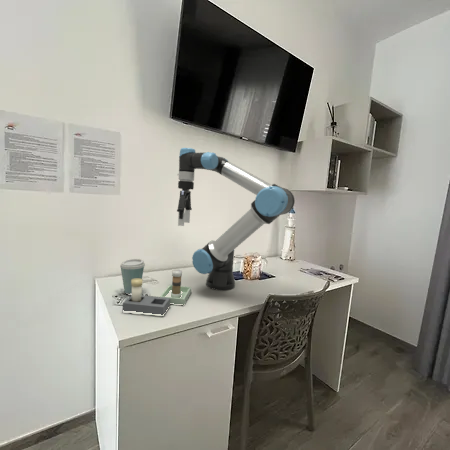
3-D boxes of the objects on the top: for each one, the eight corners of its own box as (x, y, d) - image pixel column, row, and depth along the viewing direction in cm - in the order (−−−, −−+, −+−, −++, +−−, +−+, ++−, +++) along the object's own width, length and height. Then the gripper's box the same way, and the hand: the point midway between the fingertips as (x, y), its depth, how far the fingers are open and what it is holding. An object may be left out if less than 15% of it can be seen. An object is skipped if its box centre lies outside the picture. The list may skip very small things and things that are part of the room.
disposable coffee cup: (129, 299, 113) (130, 265, 111) (114, 293, 119) (114, 260, 117) (148, 292, 122) (150, 261, 120) (133, 286, 128) (134, 256, 126)
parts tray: (190, 293, 125) (191, 287, 124) (183, 306, 110) (184, 299, 110) (169, 290, 126) (169, 284, 125) (159, 303, 111) (159, 296, 111)
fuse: (143, 307, 107) (144, 278, 106) (139, 311, 103) (140, 282, 101) (133, 306, 107) (134, 277, 106) (128, 310, 103) (129, 281, 102)
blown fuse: (181, 295, 120) (182, 270, 118) (179, 299, 116) (180, 272, 114) (172, 294, 120) (173, 269, 119) (170, 298, 116) (171, 272, 115)
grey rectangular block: (169, 307, 109) (170, 297, 108) (163, 317, 100) (163, 307, 99) (132, 303, 110) (132, 294, 109) (122, 312, 101) (122, 303, 100)
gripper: (183, 181, 140) (182, 220, 143) (172, 179, 116) (170, 226, 118) (197, 182, 140) (195, 221, 143) (188, 180, 115) (186, 227, 118)
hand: (184, 224), depth 131 cm, fingers open, 13 cm apart
